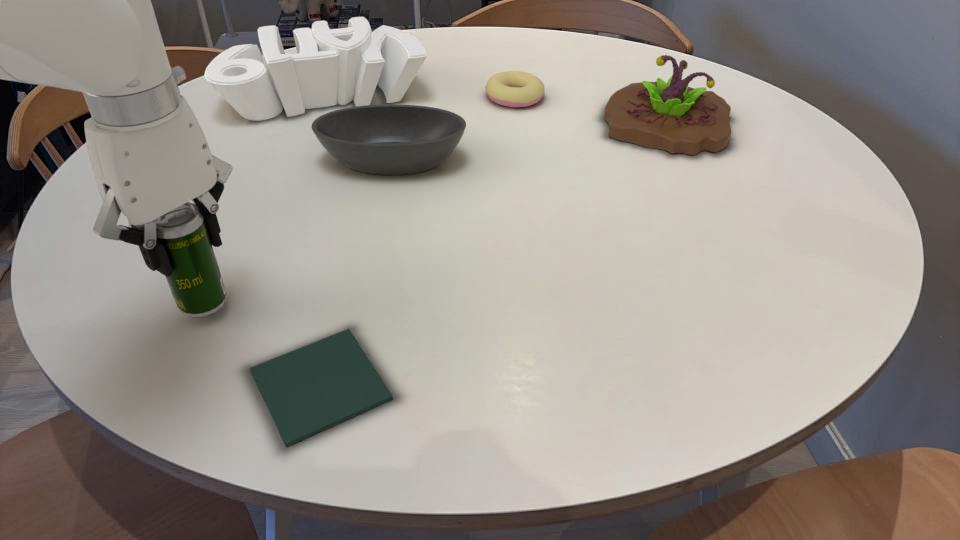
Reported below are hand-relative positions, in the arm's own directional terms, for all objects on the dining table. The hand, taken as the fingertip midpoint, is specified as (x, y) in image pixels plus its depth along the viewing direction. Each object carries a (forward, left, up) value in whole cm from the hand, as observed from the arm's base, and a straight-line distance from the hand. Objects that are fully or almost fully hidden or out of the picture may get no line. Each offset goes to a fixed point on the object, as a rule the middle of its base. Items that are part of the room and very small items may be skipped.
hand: (186, 254), depth 74 cm
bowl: (+32, +18, -8) cm, 38 cm away
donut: (+59, +26, -8) cm, 65 cm away
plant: (+75, +6, -8) cm, 76 cm away
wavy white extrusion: (+31, +43, -8) cm, 54 cm away
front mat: (+7, -17, -8) cm, 20 cm away
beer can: (0, 0, -7) cm, 7 cm away
